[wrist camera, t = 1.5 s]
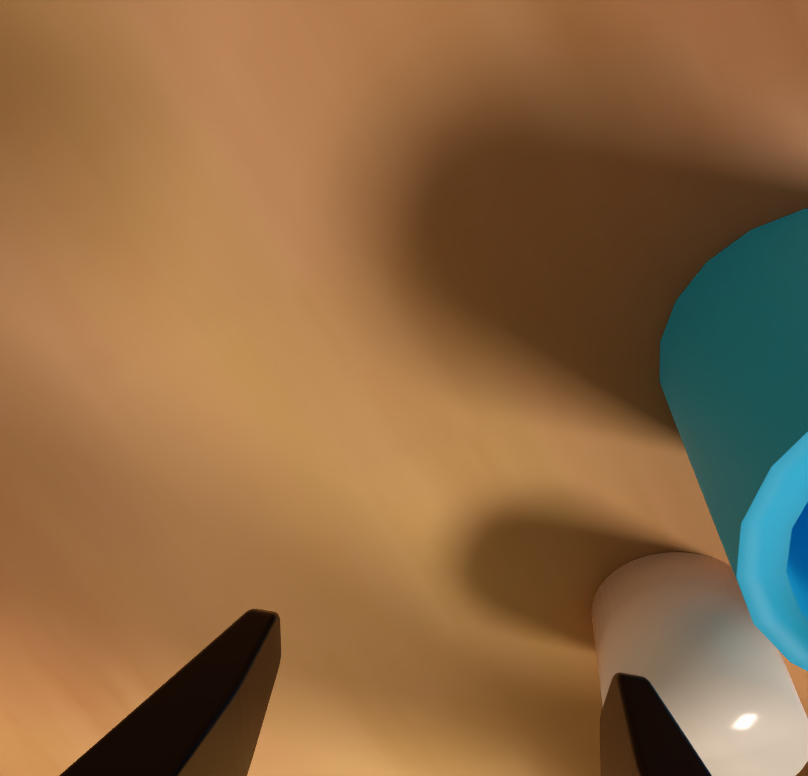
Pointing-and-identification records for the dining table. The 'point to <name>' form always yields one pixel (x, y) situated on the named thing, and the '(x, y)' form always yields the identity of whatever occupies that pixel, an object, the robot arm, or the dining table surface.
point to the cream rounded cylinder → (702, 661)
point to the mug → (751, 415)
